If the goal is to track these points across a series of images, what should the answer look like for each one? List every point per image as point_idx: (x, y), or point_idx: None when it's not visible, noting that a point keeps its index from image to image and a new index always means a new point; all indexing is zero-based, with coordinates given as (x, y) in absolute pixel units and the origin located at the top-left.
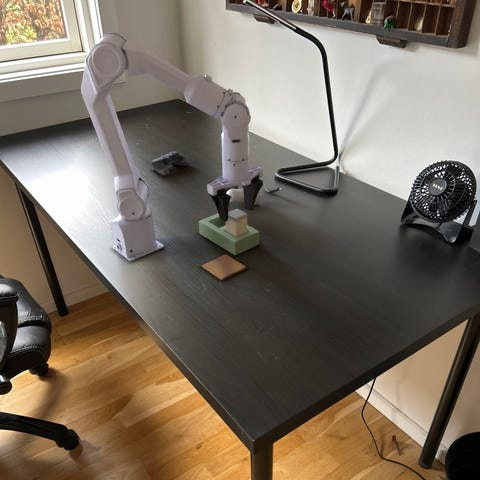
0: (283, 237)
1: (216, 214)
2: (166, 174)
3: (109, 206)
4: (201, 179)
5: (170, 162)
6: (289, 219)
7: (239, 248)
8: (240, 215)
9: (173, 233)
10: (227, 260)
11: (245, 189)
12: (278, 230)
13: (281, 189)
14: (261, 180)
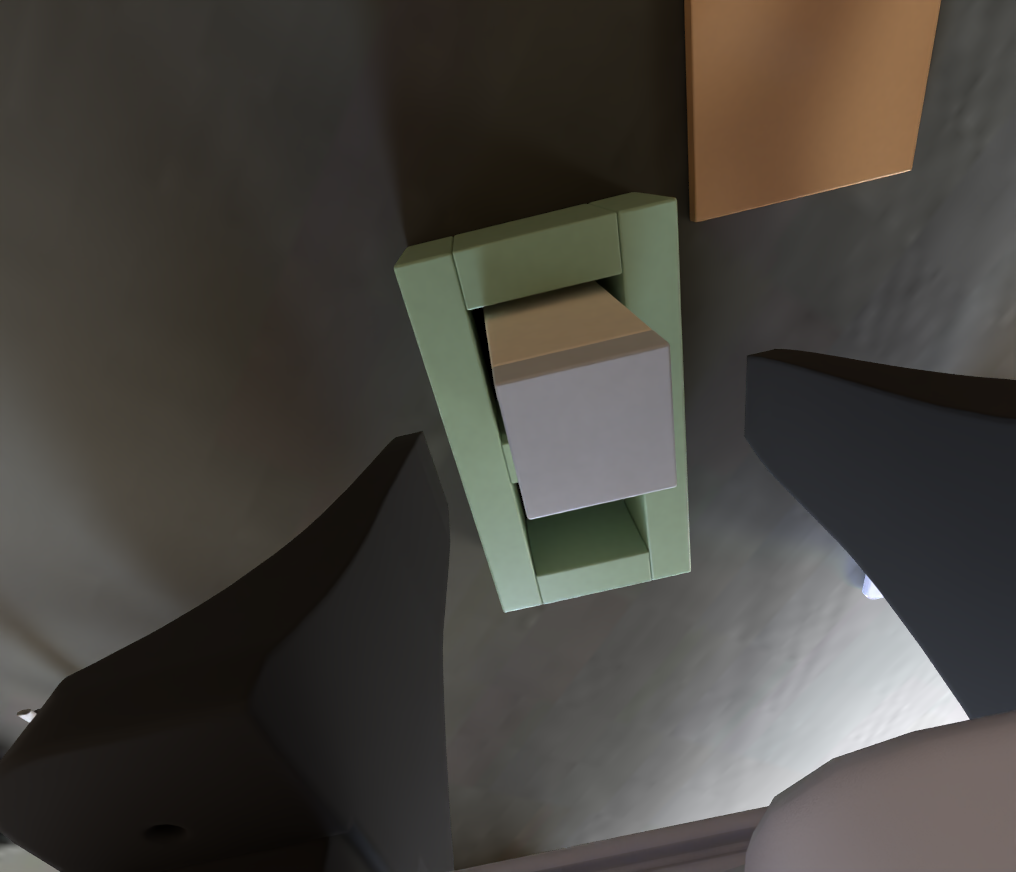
0: (184, 244)
1: (557, 596)
2: None
3: None
4: None
5: None
6: (66, 445)
7: (605, 203)
8: (580, 384)
9: (757, 564)
10: (742, 128)
11: (429, 693)
12: (192, 353)
13: (27, 711)
14: (28, 830)
